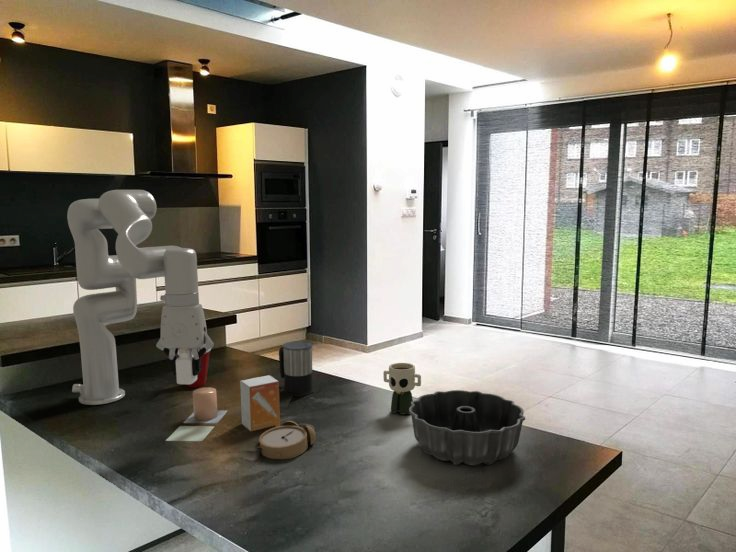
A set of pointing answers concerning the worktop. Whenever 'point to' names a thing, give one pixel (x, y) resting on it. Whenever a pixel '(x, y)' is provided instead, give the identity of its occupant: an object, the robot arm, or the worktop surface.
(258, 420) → the small box
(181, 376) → the salt shaker
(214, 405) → the peach rounded cylinder
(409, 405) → the character mug
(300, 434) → the alarm clock
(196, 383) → the plastic cup
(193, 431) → the board
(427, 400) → the bundt pan
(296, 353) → the milk frother
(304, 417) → the worktop surface
